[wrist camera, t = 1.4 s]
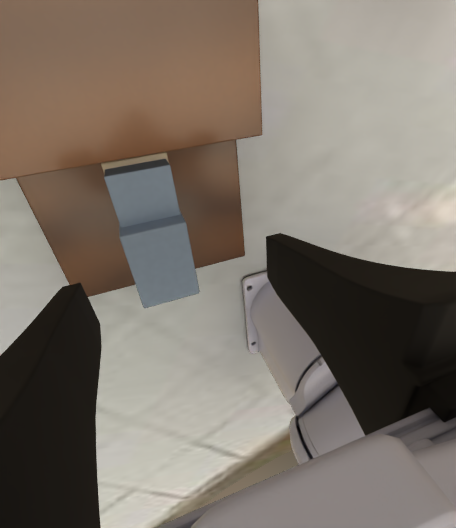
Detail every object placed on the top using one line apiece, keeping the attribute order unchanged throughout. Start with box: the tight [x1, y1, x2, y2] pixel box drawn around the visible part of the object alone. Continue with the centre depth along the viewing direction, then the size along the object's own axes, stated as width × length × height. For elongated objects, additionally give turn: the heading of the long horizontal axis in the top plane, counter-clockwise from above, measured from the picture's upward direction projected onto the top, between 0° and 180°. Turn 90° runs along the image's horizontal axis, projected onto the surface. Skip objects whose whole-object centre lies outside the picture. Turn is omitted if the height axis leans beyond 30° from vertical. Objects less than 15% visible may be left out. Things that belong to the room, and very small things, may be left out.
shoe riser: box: [0, 0, 262, 297], centre depth 15 cm, size 18×12×6 cm, turn 6°
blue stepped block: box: [101, 152, 200, 308], centre depth 17 cm, size 8×3×4 cm, turn 6°
